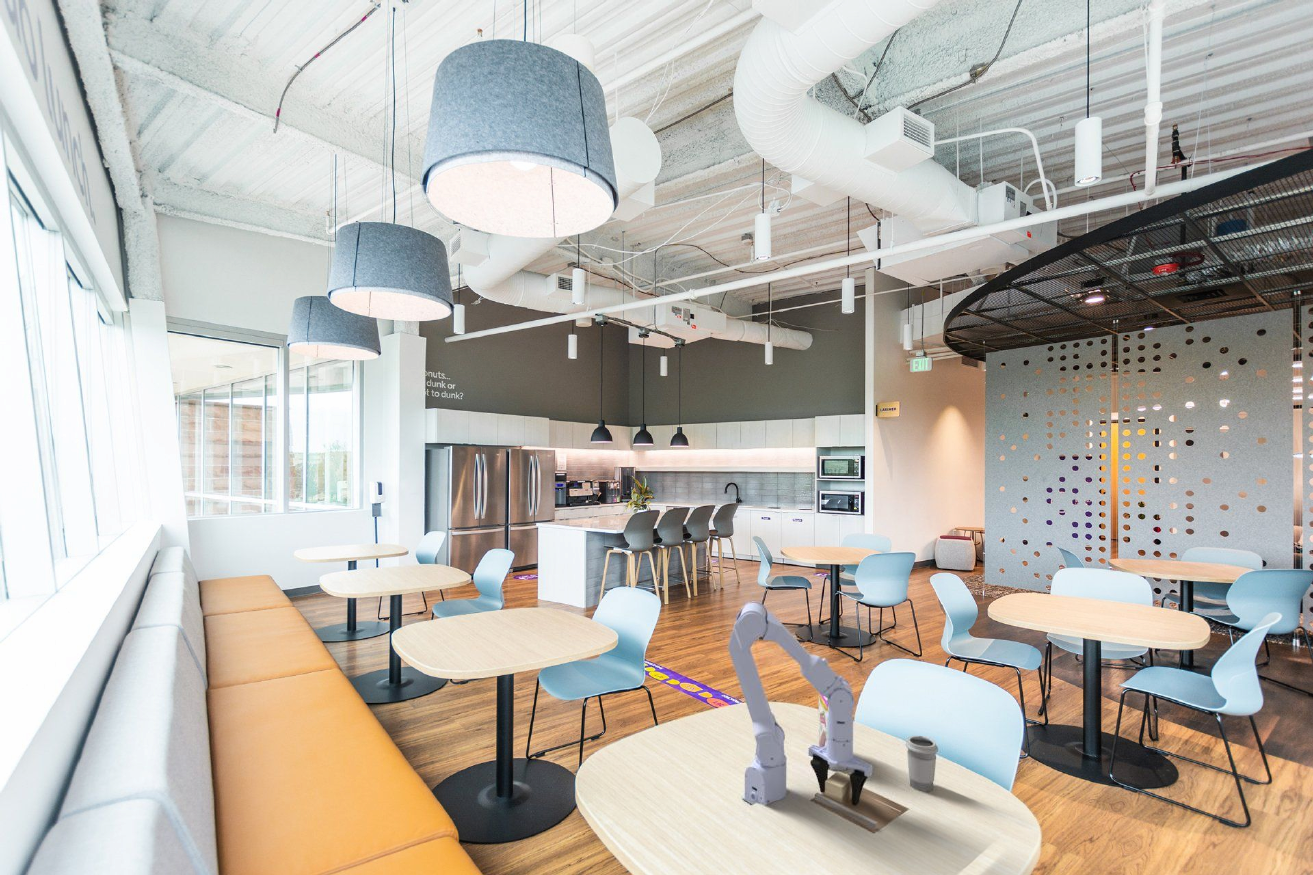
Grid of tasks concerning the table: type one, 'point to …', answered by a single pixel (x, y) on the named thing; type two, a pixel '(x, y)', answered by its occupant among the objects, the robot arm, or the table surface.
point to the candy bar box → (825, 727)
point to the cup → (921, 762)
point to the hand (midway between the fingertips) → (839, 796)
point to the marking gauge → (839, 788)
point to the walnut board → (864, 809)
